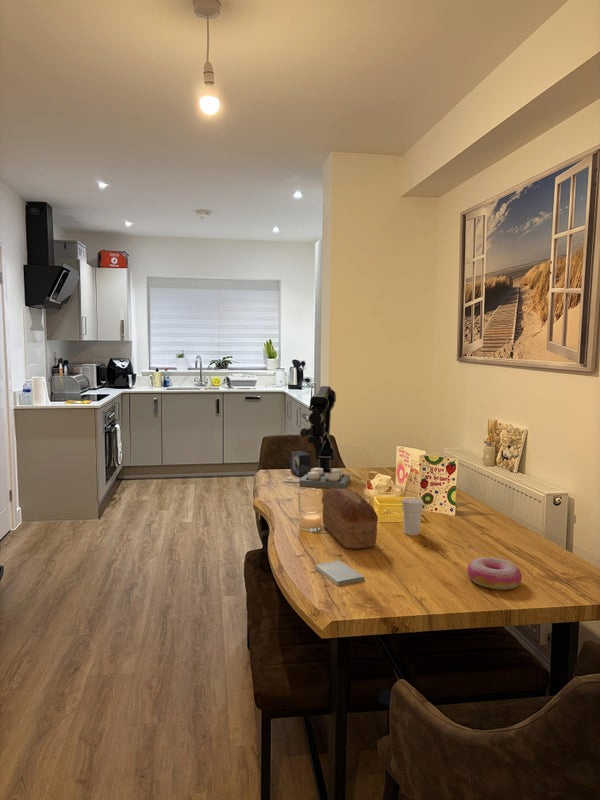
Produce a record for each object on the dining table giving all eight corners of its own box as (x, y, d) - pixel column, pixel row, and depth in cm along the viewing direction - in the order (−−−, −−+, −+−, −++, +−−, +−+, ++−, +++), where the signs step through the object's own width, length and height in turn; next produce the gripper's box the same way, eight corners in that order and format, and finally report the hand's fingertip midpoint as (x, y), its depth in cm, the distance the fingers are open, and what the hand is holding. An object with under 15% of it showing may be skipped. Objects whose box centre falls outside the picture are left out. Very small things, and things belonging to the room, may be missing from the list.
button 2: (313, 473, 258) (313, 467, 258) (323, 474, 257) (324, 468, 257) (311, 475, 253) (311, 469, 253) (321, 476, 252) (322, 470, 252)
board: (290, 475, 263) (290, 470, 263) (349, 479, 256) (349, 474, 256) (280, 484, 245) (281, 478, 245) (344, 488, 239) (344, 483, 239)
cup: (398, 534, 180) (400, 501, 179) (404, 528, 186) (405, 496, 185) (418, 537, 177) (420, 504, 176) (423, 531, 183) (424, 499, 182)
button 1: (309, 477, 249) (309, 471, 249) (320, 478, 248) (320, 472, 248) (307, 480, 245) (307, 473, 244) (318, 481, 243) (318, 474, 243)
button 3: (329, 479, 247) (329, 472, 247) (340, 479, 246) (340, 473, 246) (327, 481, 243) (327, 475, 242) (338, 482, 241) (338, 475, 241)
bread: (350, 522, 193) (351, 482, 191) (381, 550, 166) (383, 503, 164) (317, 524, 190) (318, 483, 188) (344, 553, 163) (345, 505, 161)
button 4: (332, 474, 256) (332, 468, 256) (342, 475, 255) (343, 469, 255) (330, 477, 251) (330, 470, 251) (341, 478, 250) (341, 471, 250)
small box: (289, 472, 270) (289, 451, 269) (301, 471, 273) (301, 450, 272) (298, 477, 261) (298, 455, 260) (310, 475, 263) (311, 454, 263)
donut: (469, 568, 153) (470, 551, 152) (521, 577, 148) (522, 558, 147) (464, 587, 140) (465, 568, 140) (520, 597, 135) (521, 577, 135)
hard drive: (364, 576, 143) (340, 559, 154) (337, 581, 140) (314, 564, 151) (364, 582, 143) (340, 565, 154) (337, 588, 140) (314, 569, 151)
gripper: (305, 419, 264) (305, 451, 265) (297, 424, 246) (296, 458, 247) (328, 420, 261) (328, 452, 263) (321, 425, 243) (320, 460, 245)
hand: (318, 455), depth 254 cm, fingers closed
